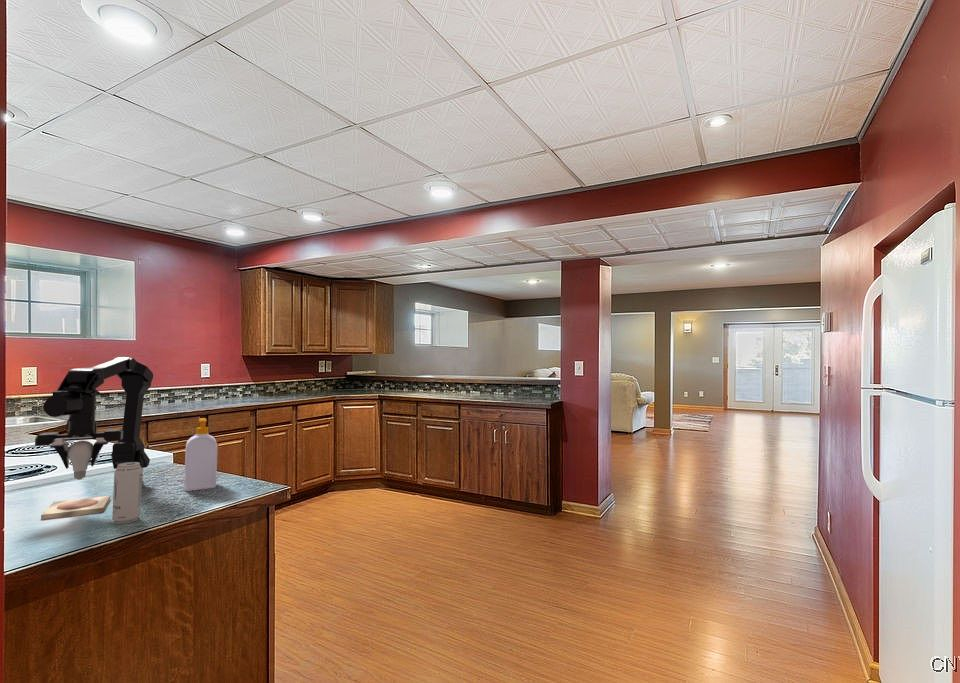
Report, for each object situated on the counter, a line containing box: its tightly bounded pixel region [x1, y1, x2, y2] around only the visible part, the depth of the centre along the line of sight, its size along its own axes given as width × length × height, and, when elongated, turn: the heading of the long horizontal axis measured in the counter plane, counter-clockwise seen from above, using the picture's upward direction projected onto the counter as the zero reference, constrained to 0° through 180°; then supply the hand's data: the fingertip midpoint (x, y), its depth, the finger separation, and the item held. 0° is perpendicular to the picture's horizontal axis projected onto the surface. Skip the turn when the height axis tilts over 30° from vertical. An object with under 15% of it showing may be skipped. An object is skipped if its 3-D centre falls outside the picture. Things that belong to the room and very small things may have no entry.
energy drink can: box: [111, 462, 143, 525], centre depth 126 cm, size 6×6×15 cm
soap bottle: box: [183, 417, 219, 492], centre depth 158 cm, size 9×7×23 cm
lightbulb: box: [67, 440, 94, 481], centre depth 135 cm, size 6×6×11 cm
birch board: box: [40, 495, 111, 520], centre depth 134 cm, size 13×13×1 cm
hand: (80, 467), depth 135 cm, fingers closed on lightbulb, 5 cm apart
